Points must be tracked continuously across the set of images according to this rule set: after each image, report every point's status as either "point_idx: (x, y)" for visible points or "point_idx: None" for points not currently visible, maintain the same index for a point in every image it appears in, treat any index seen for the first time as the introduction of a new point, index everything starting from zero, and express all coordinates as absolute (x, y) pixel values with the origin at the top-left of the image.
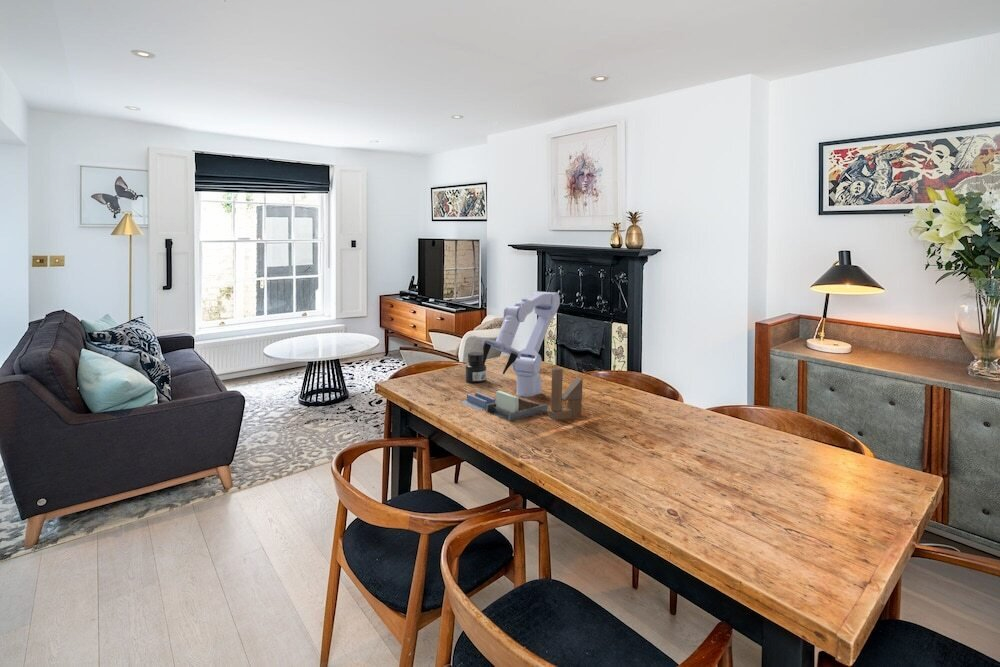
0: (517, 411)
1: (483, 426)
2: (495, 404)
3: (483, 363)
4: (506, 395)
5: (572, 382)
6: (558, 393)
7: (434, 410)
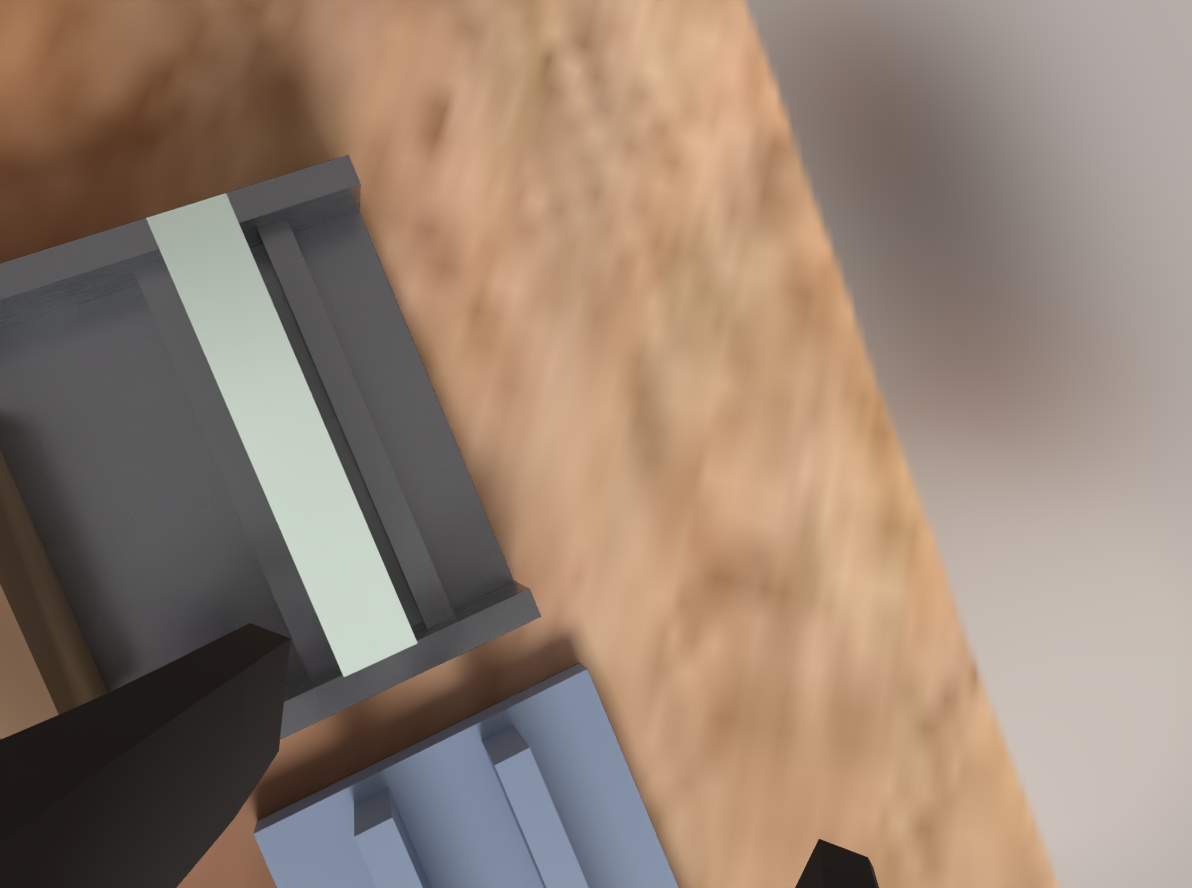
0: None
1: (638, 233)
2: None
3: (854, 857)
4: (311, 395)
5: None
6: None
7: (1001, 840)
